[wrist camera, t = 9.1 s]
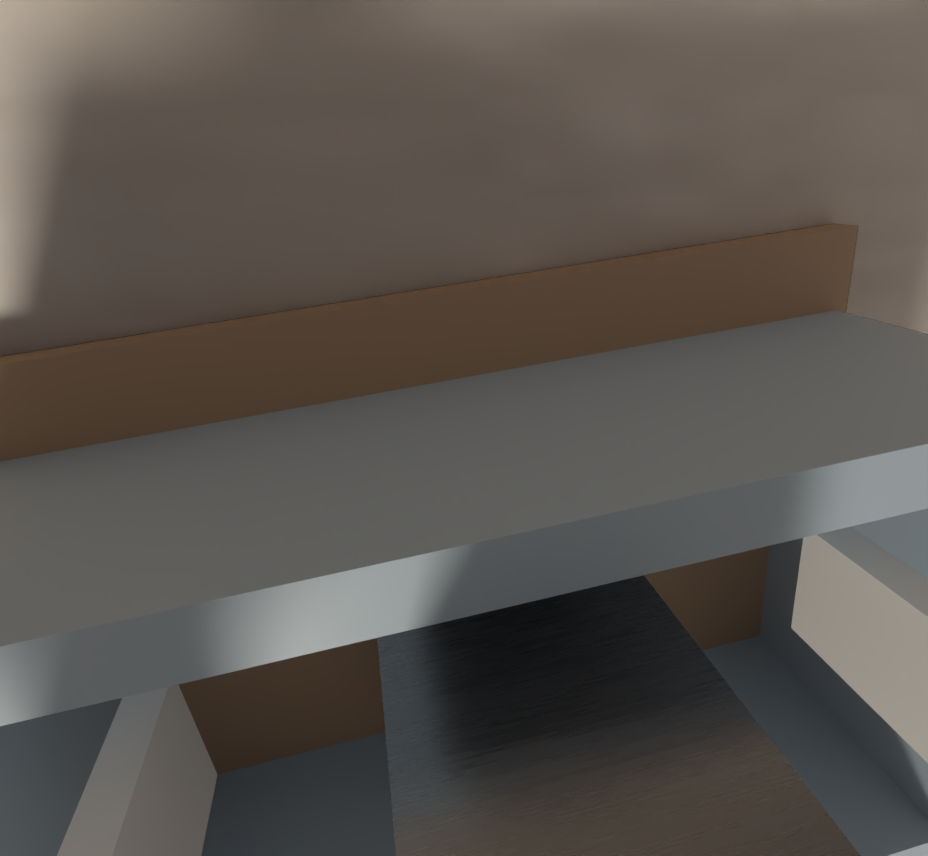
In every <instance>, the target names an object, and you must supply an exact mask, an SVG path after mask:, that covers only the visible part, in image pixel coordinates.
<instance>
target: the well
mask: <svg viewBox="0 0 928 856" xmlns="http://www.w3.org/2000/svg"><path fill="white" fill-rule="evenodd" d="M857 233H858V226H854V225H843V224H829V225H822V226H816V227H810V228H804V229H797V230H791V231H785V232H779V233H772V234H766V235H760V236H753V237H747V238H741V239H735V240H728V241H722V242H716V243H710V244H703V245H697V246H691V247H685V248H678V249H672V250H666V251H660V252H653V253H647V254H641V255H634V256H628V257H622V258H616V259H609V260H603V261H597V262H591V263H584V264H578V265H572V266H566V267H559V268H553V269H547V270H541V271H534V272H528V273H522V274H515V275H509V276H503V277H497V278H490V279H484V280H478V281H472V282H465V283H459V284H453V285H447V286H440V287H434V288H428V289H421V290H415V291H409V292H403V293H396V294H390V295H384V296H378V297H371V298H365V299H359V300H353V301H346V302H340V303H334V304H328V305H321V306H315V307H309V308H302V309H296V310H290V311H284V312H277V313H271V314H265V315H259V316H252V317H246V318H240V319H234V320H227V321H221V322H215V323H209V324H202V325H196V326H190V327H183V328H177V329H171V330H165V331H158V332H152V333H146V334H140V335H133V336H127V337H121V338H115V339H108V340H102V341H96V342H90V343H83V344H77V345H71V346H64V347H58V348H52V349H46V350H39V351H33V352H27V353H21V354H14V355H8V356H2V357H0V856H57V854H58V852H59V849H60V847H61V844H62V842H63V840H64V837H65V835H66V832H67V830H68V828H69V825H70V823H71V820H72V818H73V815H74V813H75V811H76V808H77V806H78V803H79V801H80V799H81V796H82V794H83V791H84V789H85V787H86V784H87V782H88V779H89V777H90V774H91V772H92V770H93V767H94V765H95V762H96V760H97V758H98V755H99V753H100V750H101V748H102V746H103V743H104V741H105V738H106V736H107V734H108V731H109V729H110V726H111V724H112V721H113V719H114V717H115V714H116V712H117V709H118V707H119V705H120V702H121V700H122V698H123V697H127V696H131V695H136V694H140V693H144V692H148V691H153V690H157V689H161V688H165V687H170V686H174V685H179V687H180V690H181V692H182V694H183V696H184V699H185V701H186V703H187V706H188V708H189V710H190V712H191V715H192V717H193V719H194V722H195V724H196V726H197V729H198V731H199V733H200V735H201V738H202V740H203V742H204V745H205V747H206V749H207V752H208V754H209V756H210V758H211V761H212V763H213V765H214V768H215V770H216V772H217V779H216V784H215V789H214V794H213V799H212V804H211V809H210V814H209V819H208V824H207V829H206V834H205V839H204V844H203V849H202V854H201V856H396V849H395V838H394V826H393V815H392V803H391V791H390V780H389V768H388V757H387V745H386V734H385V722H384V710H383V699H382V687H381V676H380V664H379V652H378V641H377V638H378V637H383V636H387V635H391V634H395V633H400V632H404V631H408V630H412V629H417V628H421V627H425V626H429V625H434V624H438V623H442V622H446V621H451V620H455V619H459V618H464V617H468V616H472V615H476V614H481V613H485V612H489V611H493V610H498V609H502V608H506V607H510V606H515V605H519V604H523V603H527V602H532V601H536V600H540V599H544V598H549V597H553V596H557V595H561V594H566V593H570V592H574V591H578V590H583V589H587V588H591V587H595V586H600V585H604V584H608V583H613V582H617V581H621V580H625V579H630V578H634V577H638V576H642V575H644V576H645V577H646V579H647V580H648V581H649V583H650V584H651V585H652V586H653V588H654V589H655V590H656V592H657V593H658V594H659V595H660V597H661V598H662V599H663V601H664V602H665V603H666V605H667V606H668V607H669V608H670V610H671V611H672V612H673V614H674V615H675V616H676V617H677V619H678V620H679V621H680V623H681V624H682V625H683V627H684V628H685V629H686V630H687V632H688V633H689V634H690V636H691V637H692V638H693V639H694V641H695V642H696V643H697V645H698V646H699V647H700V649H701V650H702V651H703V652H704V654H705V655H706V656H707V658H708V659H709V660H710V661H711V663H712V664H713V665H714V667H715V668H716V669H717V671H718V672H719V673H720V674H721V676H722V677H723V678H724V680H725V681H726V682H727V683H728V685H729V686H730V687H731V689H732V690H733V691H734V693H735V694H736V695H737V696H738V698H739V699H740V700H741V702H742V703H743V704H744V705H745V707H746V708H747V709H748V711H749V712H750V713H751V715H752V716H753V717H754V718H755V720H756V721H757V722H758V724H759V725H760V726H761V727H762V729H763V730H764V731H765V733H766V734H767V735H768V737H769V738H770V739H771V740H772V742H773V743H774V744H775V746H776V747H777V748H778V749H779V751H780V752H781V753H782V755H783V756H784V757H785V759H786V760H787V761H788V762H789V764H790V765H791V766H792V768H793V769H794V770H795V771H796V773H797V774H798V775H799V777H800V778H801V779H802V781H803V782H804V783H805V784H806V786H807V787H808V788H809V790H810V791H811V792H812V793H813V795H814V796H815V797H816V799H817V800H818V801H819V803H820V804H821V805H822V806H823V808H824V809H825V810H826V812H827V813H828V814H829V815H830V817H831V818H832V819H833V821H834V822H835V823H836V825H837V826H838V827H839V828H840V830H841V831H842V832H843V834H844V835H845V836H846V837H847V839H848V840H849V841H850V843H851V844H852V845H853V847H854V848H855V849H856V850H857V852H858V853H859V854H860V856H928V763H927V762H926V761H925V760H924V759H923V758H922V757H921V756H920V755H919V754H918V753H917V752H916V751H915V750H914V749H913V748H912V747H911V746H910V745H909V744H908V743H907V742H906V741H905V740H904V739H903V738H902V737H901V736H900V735H899V734H898V733H897V732H896V731H895V730H894V729H893V728H892V727H891V726H890V725H889V724H888V723H887V722H886V721H885V720H884V719H883V718H882V717H881V716H880V715H879V714H877V713H876V712H875V711H874V710H873V709H872V708H871V707H870V706H869V705H868V704H867V703H866V702H865V701H864V700H863V699H862V698H861V697H860V696H859V695H858V694H857V693H856V692H855V691H854V690H853V689H852V688H851V687H850V686H849V685H848V684H847V683H846V682H845V681H844V680H843V679H842V678H841V677H840V676H839V675H838V674H837V673H836V672H835V671H834V670H833V669H832V668H831V667H830V666H829V665H828V664H827V663H826V662H825V661H824V660H823V659H822V658H821V657H820V656H819V655H818V654H817V653H816V652H815V651H814V650H813V649H812V648H811V647H810V646H809V645H808V644H807V643H806V642H805V641H804V640H803V639H802V638H801V637H800V636H799V635H798V634H797V633H796V632H795V631H794V630H793V629H792V628H791V623H792V616H793V609H794V601H795V594H796V587H797V580H798V572H799V565H800V558H801V550H802V543H803V538H804V537H808V536H813V535H817V534H821V533H825V532H830V531H834V530H838V529H842V528H847V527H851V528H853V529H854V530H856V531H857V532H859V533H860V534H862V535H863V536H865V537H866V538H868V539H869V540H871V541H872V542H874V543H875V544H877V545H878V546H879V547H881V548H882V549H884V550H885V551H887V552H888V553H890V554H891V555H893V556H894V557H896V558H897V559H899V560H900V561H902V562H903V563H905V564H906V565H907V566H909V567H910V568H912V569H913V570H915V571H916V572H918V573H919V574H921V575H922V576H924V577H925V578H927V579H928V334H925V333H921V332H917V331H913V330H909V329H906V328H902V327H898V326H894V325H890V324H887V323H883V322H879V321H875V320H871V319H868V318H864V317H860V316H856V315H852V314H849V313H846V309H847V302H848V295H849V288H850V281H851V274H852V267H853V261H854V254H855V247H856V240H857Z"/></svg>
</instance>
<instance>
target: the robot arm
mask: <svg viewBox="0 0 928 856" xmlns="http://www.w3.org/2000/svg"><path fill="white" fill-rule="evenodd" d="M791 628H792V629H793V630H794V631H795V632H796V633H797V634H798V635H799V636H800V637H801V638H802V639H803V640H804V641H805V642H806V643H807V644H808V645H809V646H810V647H811V648H812V649H813V650H814V651H815V652H816V653H817V654H818V655H819V656H820V657H821V658H822V659H823V660H824V661H825V662H826V663H827V664H828V665H829V666H830V667H831V668H832V669H833V670H834V671H835V672H836V673H837V674H838V675H839V676H840V677H841V678H842V679H843V680H844V681H845V682H846V683H847V684H848V685H849V686H850V687H851V688H852V689H853V690H854V691H855V692H856V693H857V694H858V695H859V696H860V697H861V698H862V699H863V700H864V701H865V702H866V703H867V704H868V705H869V706H870V707H871V708H872V709H873V710H874V711H875V712H876V713H877V714H879V715H880V716H881V717H882V718H883V719H884V720H885V721H886V722H887V723H888V724H889V725H890V726H891V727H892V728H893V729H894V730H895V731H896V732H897V733H898V734H899V735H900V736H901V737H902V738H903V739H904V740H905V741H906V742H907V743H908V744H909V745H910V746H911V747H912V748H913V749H914V750H915V751H916V752H917V753H918V754H919V755H920V756H921V757H922V758H923V759H924V760H925V761H926V762H927V763H928V579H927V578H925V577H924V576H922V575H921V574H919V573H918V572H916V571H915V570H913V569H912V568H910V567H909V566H907V565H906V564H905V563H903V562H902V561H900V560H899V559H897V558H896V557H894V556H893V555H891V554H890V553H888V552H887V551H885V550H884V549H882V548H881V547H879V546H878V545H877V544H875V543H874V542H872V541H871V540H869V539H868V538H866V537H865V536H863V535H862V534H860V533H859V532H857V531H856V530H854V529H853V528H851V527H847V528H842V529H838V530H834V531H830V532H825V533H821V534H817V535H813V536H808V537H804V538H803V543H802V550H801V558H800V565H799V572H798V580H797V587H796V594H795V601H794V609H793V616H792V623H791ZM216 779H217V772H216V770H215V768H214V765H213V763H212V761H211V758H210V756H209V754H208V752H207V749H206V747H205V745H204V742H203V740H202V738H201V735H200V733H199V731H198V729H197V726H196V724H195V722H194V719H193V717H192V715H191V712H190V710H189V708H188V706H187V703H186V701H185V699H184V696H183V694H182V692H181V690H180V687H179V685H174V686H170V687H165V688H161V689H157V690H153V691H148V692H144V693H140V694H136V695H131V696H127V697H123V698H122V700H121V702H120V705H119V707H118V709H117V712H116V714H115V717H114V719H113V721H112V724H111V726H110V729H109V731H108V734H107V736H106V738H105V741H104V743H103V746H102V748H101V750H100V753H99V755H98V758H97V760H96V762H95V765H94V767H93V770H92V772H91V774H90V777H89V779H88V782H87V784H86V787H85V789H84V791H83V794H82V796H81V799H80V801H79V803H78V806H77V808H76V811H75V813H74V815H73V818H72V820H71V823H70V825H69V828H68V830H67V832H66V835H65V837H64V840H63V842H62V844H61V847H60V849H59V852H58V854H57V856H201V854H202V849H203V844H204V839H205V834H206V829H207V824H208V819H209V814H210V809H211V804H212V799H213V794H214V789H215V784H216Z"/></svg>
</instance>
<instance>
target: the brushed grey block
mask: <svg viewBox="0 0 928 856" xmlns="http://www.w3.org/2000/svg"><path fill="white" fill-rule="evenodd" d="M377 641H378V652H379V664H380V676H381V687H382V699H383V710H384V722H385V734H386V745H387V757H388V768H389V780H390V791H391V803H392V815H393V826H394V838H395V849H396V856H860V854H859V853H858V852H857V850H856V849H855V848H854V847H853V845H852V844H851V843H850V841H849V840H848V839H847V837H846V836H845V835H844V834H843V832H842V831H841V830H840V828H839V827H838V826H837V825H836V823H835V822H834V821H833V819H832V818H831V817H830V815H829V814H828V813H827V812H826V810H825V809H824V808H823V806H822V805H821V804H820V803H819V801H818V800H817V799H816V797H815V796H814V795H813V793H812V792H811V791H810V790H809V788H808V787H807V786H806V784H805V783H804V782H803V781H802V779H801V778H800V777H799V775H798V774H797V773H796V771H795V770H794V769H793V768H792V766H791V765H790V764H789V762H788V761H787V760H786V759H785V757H784V756H783V755H782V753H781V752H780V751H779V749H778V748H777V747H776V746H775V744H774V743H773V742H772V740H771V739H770V738H769V737H768V735H767V734H766V733H765V731H764V730H763V729H762V727H761V726H760V725H759V724H758V722H757V721H756V720H755V718H754V717H753V716H752V715H751V713H750V712H749V711H748V709H747V708H746V707H745V705H744V704H743V703H742V702H741V700H740V699H739V698H738V696H737V695H736V694H735V693H734V691H733V690H732V689H731V687H730V686H729V685H728V683H727V682H726V681H725V680H724V678H723V677H722V676H721V674H720V673H719V672H718V671H717V669H716V668H715V667H714V665H713V664H712V663H711V661H710V660H709V659H708V658H707V656H706V655H705V654H704V652H703V651H702V650H701V649H700V647H699V646H698V645H697V643H696V642H695V641H694V639H693V638H692V637H691V636H690V634H689V633H688V632H687V630H686V629H685V628H684V627H683V625H682V624H681V623H680V621H679V620H678V619H677V617H676V616H675V615H674V614H673V612H672V611H671V610H670V608H669V607H668V606H667V605H666V603H665V602H664V601H663V599H662V598H661V597H660V595H659V594H658V593H657V592H656V590H655V589H654V588H653V586H652V585H651V584H650V583H649V581H648V580H647V579H646V577H645V576H644V575H642V576H638V577H634V578H630V579H625V580H621V581H617V582H613V583H608V584H604V585H600V586H595V587H591V588H587V589H583V590H578V591H574V592H570V593H566V594H561V595H557V596H553V597H549V598H544V599H540V600H536V601H532V602H527V603H523V604H519V605H515V606H510V607H506V608H502V609H498V610H493V611H489V612H485V613H481V614H476V615H472V616H468V617H464V618H459V619H455V620H451V621H446V622H442V623H438V624H434V625H429V626H425V627H421V628H417V629H412V630H408V631H404V632H400V633H395V634H391V635H387V636H383V637H378V638H377Z"/></svg>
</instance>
